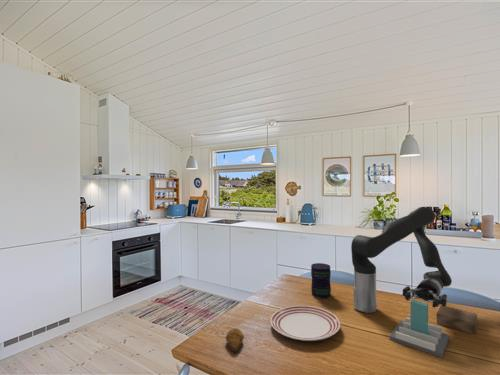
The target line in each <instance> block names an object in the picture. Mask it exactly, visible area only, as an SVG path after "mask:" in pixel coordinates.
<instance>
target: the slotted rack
mask: <svg viewBox="0 0 500 375" xmlns="http://www.w3.org/2000/svg"><path fill="white" fill-rule="evenodd" d="M450 337H451V336H450V334H449V333H444V328H443V327H442V326H439V325H435V324H432V323H429V322H428V335H426V334H423V333H420V332H417V331H414V330H411V317H408V316H406V317H405V321H404V320H400V321H399V322H398V324H397V325H396V326H395V328H394V330H392V332H391V333H390V334H389V340H392V341H394V342H397V343H400V344H402V345H406V346H409V347H411V348H414V349H417V350H420V351H422V352H424V353H428V354H431V355H434V356H437V357H440V358H443V357H444V354H445V351H446V349H447V346H448V344H449V341H450Z"/></svg>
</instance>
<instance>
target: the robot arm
mask: <svg viewBox="0 0 500 375" xmlns="http://www.w3.org/2000/svg"><path fill="white" fill-rule="evenodd" d="M435 219H436V214H435V211H434V210H433V209H431V208H430V207H427V206H420V207H417V208H416V209H415V210H413V211H411V212H409V213H408V214H407V215H406V216H405V215H404V216H402V217H400V218H397V219H395V220H393V221H392V220H391V222H388V223H387V224H385V226H383V228H382V231H381V234H379V235H377V236H367V235H361V234H357V235H355V236H354V237H353V239H352V241H351V246H350V247H351V248H350V250H351V260H352V261H351V264H352V265H353V273H354V274H353V277H354V278H353V279H354V280H353V282H354V285H353V286H354V287H353V310H356V311H359V312H361V313H365V314H366V313H367V314H372V313H375V312H377V308H378V306H377V267H376V265H375V264H374V263H373V262H372V261H371V260H370V259H373V258H375V257H377V256H379V255H380V254H381V253H383V252H384V251H385V250H387V249H388V248H389V247H391V246H393V245H394V244H396V243H398V242H400V241H402V240H403V239H405V238H406V237H409V236H410V235H411V234H413V235H414V237H415V239H416V241H417V243H418V246H419V249H420V253H421V255H422V256H421V257H422V261H423V264H424V266H425V267H426V268H436V269H437V270H434V271H427V272H425V273H423V280H421V281H420V283H419V284H418V285H417V286H416V288H411V287H410V285H407V286H405V287H404V288H403V289H402V296H403V297H404V299H405V300H406V301H408V302H409V301H410V300H411V299H413V300H418V299H420V300H423V301H425V302H430V303H432V308H437V307H439V306H441V305H442V306H447V304H448V296H447V294H446V293H445V294H442V290H443V287H444V288H447V287H450V286H451V285H452V277H451V276H450V274H449V272H448V271H447V269H446V268H445V266H444V264H443V262H442V260H441V256H440V253H439V250H438V248H437V246H436V244H435V243H434V242H433V241H432V240H431V239H430V238H429V237H428V236H427V235H426V232H425V227H426V226H428V225H430V224H432V223H433V222H434V221H435ZM441 294H442V295H441Z"/></svg>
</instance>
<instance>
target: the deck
mask: <svg viewBox="0 0 500 375" xmlns="http://www.w3.org/2000/svg"><path fill="white" fill-rule="evenodd" d="M436 324H438V325H442V326H445V327H449V328H451V329H455V330H460V331H463V332H466V333H471V334H474V335H475V334H476V331H477V325H478V313H475V312H471V311H466V310H463V309H458V308H455V307H451V306H447V305H446V306H442V304H440V305H439V309H438V310H437V312H436Z"/></svg>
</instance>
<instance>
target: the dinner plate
mask: <svg viewBox="0 0 500 375" xmlns="http://www.w3.org/2000/svg"><path fill="white" fill-rule="evenodd" d="M270 325H271V327H272V329H274V330H275V331H276V332H278V333H279V334H280V335H282V336H284V337H287V338H290V339H293V340H298V341H301V342H302V341H303V342H316V341H322V340H326V339H328V338H330V337H332V336H334V335H335V334H337V333H338V332H339V330H341V329H340V328H341V321H340V320H339V317H337V316H336V315H335V314H334V313H333V312H331V311H329V310H326V309H324V308H321V307H319V306H313V305H311V306H310V305H291V306H286V307H283V308H280V309H279V310H276V311H275V312H273V314H272V315H271V317H270Z"/></svg>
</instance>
